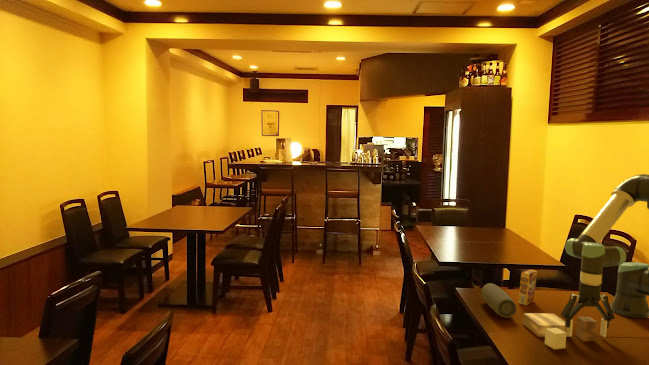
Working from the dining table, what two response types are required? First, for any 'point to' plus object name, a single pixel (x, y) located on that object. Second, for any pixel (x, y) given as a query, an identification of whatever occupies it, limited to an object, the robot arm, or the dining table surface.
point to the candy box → (527, 287)
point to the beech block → (543, 322)
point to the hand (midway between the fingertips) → (585, 335)
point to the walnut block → (586, 329)
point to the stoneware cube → (555, 338)
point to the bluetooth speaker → (498, 300)
